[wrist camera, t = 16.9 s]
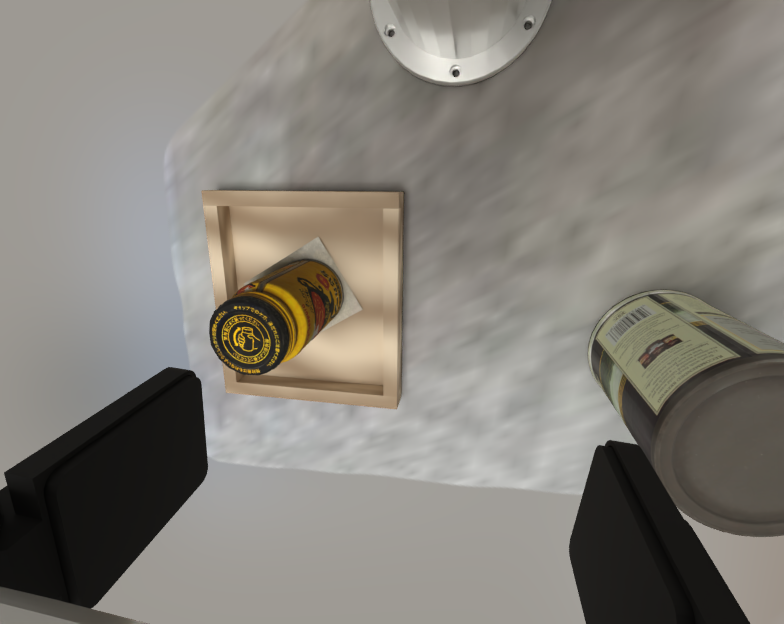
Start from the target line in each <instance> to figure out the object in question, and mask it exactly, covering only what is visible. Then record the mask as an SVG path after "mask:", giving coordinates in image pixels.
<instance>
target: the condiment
mask: <svg viewBox="0 0 784 624" xmlns="http://www.w3.org/2000/svg"><path fill="white" fill-rule="evenodd" d="M244 285H245V286H244V287H242V288H240V289H239V290H238V291H237V292H236V293H235V294H234V295H233V296H232V298H231V299H229V300H227V301H225V302H224V303H223V304H221V305H220V306H219V307H218V309H217V310H215V311H214V314H213V315H212V317H211V320H210V330H209V334H210V341H211V346H212V348H213V349H214V351H215V353H216V354H217V356H218V357H219V359H220V360H221V361H222V362H223V363H224V364H225V365H226V366H227V367H228V368H230V369H232V370H234V371H236V372H238V373H240V374H243V375H262V374H265V373H268V372H270V371H271V370H274V369H275V368H277V366H278V365H280V363H283V362H286V361H289V360H291V359H292V358H294V357H295V356H296V355H298V354H299V353H300V352H301V351H302V349H303V348H305V347H306V345H307V344H309V342H310V341H311V340H313V339H314V338H315V337H316V336H317V335H318V334H319V333H321V332H322V331H324V330H326V329H328V328H330V327H331V326H333V325H335V324H337V323H339V322H341V321H342V320H344V319H346V318H348V317H350V316H352V315H353V314H355V313H357V312H359V311H361V310H363V309H362V307H361V306H360V304H359V302H358V301H357V299H356V297H355V296H354V294H353V292H352V290H351V289H350V287H349V285H348V284H347V282H346V280H345V279H344V277H343V275H342V274H341V272H340V271H339V269H338V267H337V266H336V264H335V263H334V261H333V259H332V258H331V256H330V255H329V253H328V252H327V250H326V249H325V247H324V245H323V244H322V242H321V240H320V239H319V237H317V238H315V239H314V240H312V241H311V242H309V243H307V244H306V245H304V246H303V247H301V248H299V249H298V250H296V251H295V252H293V253H292V254H290V255H288V256H287V257H285V258H284V259H282V260H280V261H279V262H277V263H276V264H274V265H272V266H271V267H269V268H268V269H266V270H264V271H263V272H261V273H260V274H258V275H256V276H255V277H253V278H252V279H250V280H248V281H247V282H245V283H244Z"/></svg>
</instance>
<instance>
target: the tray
mask: <svg viewBox="0 0 784 624" xmlns="http://www.w3.org/2000/svg"><path fill="white" fill-rule="evenodd" d="M202 199H203V207H204V215H205V223H206V232H207V240H208V248H209V256H210V264H211V273H212V281H213V289H214V297H215V306H216V310H217V309H218V307H219V306H220V305H221V304H223V303H224V302H225V301H227V300H229V299H231V298H232V296H233V295H234V294H235V293H236V292H237V291H238V290H239V289H240V288H242V287H244V286H245V285H244V283H245V282H247V281H248V280H250V279H252V278H253V277H255V276H256V275H258V274H260V273H261V272H263V271H264V270H266V269H268V268H269V267H271V266H272V265H274V264H276V263H277V262H279V261H280V260H282V259H284V258H285V257H287V256H288V255H290V254H292V253H293V252H295V251H296V250H298V249H299V248H301V247H303V246H304V245H306V244H307V243H309V242H311V241H312V240H314V239H315V238H317V237H319V239H320V240H321V242H322V244H323V245H324V247H325V249H326V250H327V252H328V253H329V255H330V256H331V258H332V259H333V261H334V263H335V264H336V266H337V267H338V269H339V271H340V272H341V274H342V275H343V277H344V279H345V280H346V282H347V284H348V285H349V287H350V289H351V290H352V292H353V294H354V296H355V297H356V299H357V301H358V302H359V304H360V306H361V307H362V309H363V310H361V311H359V312H357V313H355V314H353V315H352V316H350V317H348V318H346V319H344V320H342V321H341V322H339V323H337V324H335V325H333V326H331V327H330V328H328V329H326V330H324V331H322V332H321V333H319V334H318V335H317V336H316V337H315V338H314V339H313V340H311V341H310V342H309V344H307V345H306V347H305V348H303V349H302V351H301V352H300V353H299V354H298V355H296V356H295V357H294V358H292V359H291V360H289V361H286V362H283V363H280V365H278V366H277V368H275V369H274V370H271V371H270V372H268V373H265V374H262V375H243V374H240V373H238V372H236V371H234V370H232V369H230V368H228V367H227V366H226V365H225V364H224V363H223V362H222V363H223V371H224V379H225V388H226V393H235V394H245V395H255V396H265V397H276V398H286V399H296V400H306V401H317V402H327V403H337V404H348V405H358V406H368V407H378V408H389V409H397V407H398V404H399V401H400V398H401V385H402V302H403V220H404V192H381V191H268V190H205V191H202Z"/></svg>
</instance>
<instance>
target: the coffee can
mask: <svg viewBox="0 0 784 624" xmlns="http://www.w3.org/2000/svg"><path fill="white" fill-rule="evenodd" d="M588 360H589V366H590V369H591V372H592V375H593V377H594V379H595V380H596V382H597V383H598V384H599V386H600V387H601V388H602V389H603V391H604V392H605V394H606V395H607V397H608V399H609V400H610V401H611V403H612V405H613V406H614V408H615V409H616V411H617V412H618V414H619V415H620V417H621V418H622V420H623V422H624V423H625V425H626V426H627V428H628V430H629V431H630V433H631V434H632V436H633V438H634V439H635V441H636V442H637V444H638V445H639V446H640V447H641V449H642V450H643V452H644V454H645V455H646V457H647V459H648V460H649V462H650V464H651V465H652V467H653V469H654V470H655V472H656V474H657V475H658V477H659V479H660V480H661V482H662V484H663V485H664V487H665V489H666V490H667V492H668V494H669V495H670V497H671V499H672V500H673V502H674V504H675V505H676V506H677V507H678V508H679V509H680V510H681V511H683V513H685V514H686V515H688V516H689V517H691V518H692V519H694V520H696V521H697V522H699V523H702V524H703V525H706V526H708V527H711V528H714V529H716V530H719V531H722V532H727V533H731V534H735V535H741V536H752V537H773V536H781V535H784V343H782V342H780V341H778V340H776V339H774V338H772V337H770V336H768V335H766V334H764V333H762V332H760V331H758V330H756V329H754V328H752V327H750V326H749V325H747V324H745V323H743V322H741V321H739V320H737V319H735V318H733V317H731V316H729V315H727V314H725V313H723V312H721V311H719V310H717V309H715V308H713V307H712V306H710V305H708V304H707V303H705V302H704V301H702V300H700V299H698V298H697V297H694V296H692V295H689V294H687V293H684V292H678V291H672V290H655V291H648V292H644V293H640V294H637V295H634V296H632V297H629V298H627V299H625V300H624V301H622V302H620V303H619V304H617V305H616V306H614V307H613V308H612V309H611V310H609V311H608V312H607V313H606V314H605V315H604V316H603V317H602V319H601V320H600V321H599V323H598V324H597V326H596V328H595V329H594V331H593V333H592V336H591V339H590V343H589V349H588Z"/></svg>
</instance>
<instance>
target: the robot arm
mask: <svg viewBox="0 0 784 624" xmlns="http://www.w3.org/2000/svg"><path fill="white" fill-rule="evenodd" d="M551 1H552V0H370V7H371V11H372V15H373V19H374V23H375V26H376V28H377V30H378V33H379V35H380V37H381V39H382V41H383V43H384V45H385V46H386V48H387V49H388V51H389V52H390V54H391V55H392V56H393V57H394V58H395V59H396V61H397V62H398V63H399V64H400V65H401V66H402V67H403V68H405V69H406V70H407V71H409V72H410V73H411V74H412V75H414V76H416V77H418V78H420V79H422V80H424V81H426V82H429V83H434V84H438V85H442V86H463V85H468V84H473V83H477V82H480V81H482V80H485V79H487V78H490V77H492V76H494V75H495V74H497V73H499V72H500V71H502V70H503V69H505V68H506V67H508V66H509V65H510V64H511V63H512V62H513V61H514V60H516V59H517V58H518V57H519V56H520V55H521V54H522V53H523V52H524V50H525V49H526V48H527V47H528V45H529V44H530V43H531V41H532V40H533V39H534V38H535V36H536V34H537V32H538V30H539V28H540V27H541V25H542V23H543V21H544V19H545V17H546V14H547V12H548V9H549V7H550V4H551ZM526 23H530V25H531V28H530V29H529V30H526V29H525V28H524V25H525V24H526ZM390 31H394V32H395V35H394V36H393V37H389V33H390ZM456 70H457V71H459V72H460V74H459V76H458V77H454V76H453V75H452V74H453V72H454V71H456ZM207 470H208V463H207V449H206V436H205V424H204V411H203V399H202V386H201V381H200V379H199V378H197V377H196V375H195V373H194V372H193V371H191V370H185V369H179V368H172V367H168V368H166V369H164V370H162V371H161V372H159V373H158V374H157V375H155V376H153V377H152V378H150V379H149V380H147V381H145V382H144V383H142V384H141V385H139V386H138V387H136V388H135V389H133V390H132V391H130V392H128V393H127V394H125V395H124V396H122V397H121V398H119V399H118V400H116V401H115V402H113V403H111V404H110V405H108V406H107V407H105V408H104V409H102V410H100V411H99V412H97V413H96V414H94V415H93V416H91V417H90V418H88V419H87V420H85V421H83V422H82V423H80V424H79V425H78V426H76V427H74V428H73V429H71V430H70V431H68V432H66V433H65V434H63V435H62V436H60V437H59V438H57V439H56V440H54V441H52V442H51V443H49V444H48V445H46V446H45V447H43V448H42V449H40V450H39V451H37V452H36V453H34V454H32V455H31V456H29V457H28V458H26V459H25V460H23V461H21V462H20V463H18V464H17V465H15V466H14V467H12V468H11V469H9V470H7V471H6V472H4V474H5V478H6V482H7V486H6V487H4V488H3V489H2V490H0V624H147V623H143V622H140V621H136V620H132V619H128V618H124V617H120V616H117V615H112V614H109V613H105V612H101V611H97V610H93V609H91V608H92V607H94V606H95V605H96V604H97V603H98V602H99V601H100V600H101V599H102V597H103V596H104V595H105V594H106V593H107V592H108V590H109V589H110V588H111V587H112V586H113V585H114V584H115V582H116V581H117V580H118V579H119V578H120V577H121V576H122V574H123V573H124V572H125V571H126V570H127V569H128V567H129V566H130V565H131V564H132V563H133V562H134V561H135V559H136V558H137V557H138V556H139V555H140V554H141V553H142V551H143V550H144V549H145V548H146V547H147V546H148V544H149V543H150V542H151V541H152V540H153V539H154V537H155V536H156V535H157V534H158V533H159V532H160V531H161V529H162V528H163V527H164V526H165V525H166V524H167V523H168V521H169V520H170V519H171V518H172V517H173V516H174V515H175V513H176V512H177V511H178V510H179V509H180V507H181V506H182V505H183V504H184V503H185V502H186V501H187V499H188V498H189V497H190V496H191V495H192V494H193V492H194V491H195V490H196V489H197V488H198V487H199V486H200V485H201V483H202V482H203V481H204V479H205V477H206V474H207ZM569 554H570V560H571V564H572V568H573V572H574V576H575V581H576V585H577V589H578V592H579V597H580V601H581V605H582V609H583V613H584V617H585V621H586V624H750V622H749V621H748V619H747V617H746V616H745V614H744V612H743V611H742V609H741V608H740V606H739V604H738V603H737V601H736V599H735V598H734V596H733V594H732V593H731V591H730V590H729V588H728V586H727V584H726V583H725V581H724V580H723V578H722V576H721V575H720V573H719V571H718V570H717V568H716V566H715V565H714V563H713V561H712V560H711V558H710V556H709V555H708V553H707V552H706V550H705V548H704V547H703V545H702V543H701V542H700V540H699V538H698V537H697V535H696V533H695V532H694V530H693V528H692V527H691V526H690V525H689V523H688V522H687V521H686V520H684V519H683V517H682V515H681V514H680V512H679V511H678V509H677V507H676V505H675V504H674V502H673V500H672V499H671V497H670V495H669V494H668V492H667V490H666V489H665V487H664V485H663V484H662V482H661V480H660V479H659V477H658V475H657V474H656V472H655V470H654V469H653V467H652V465H651V464H650V462H649V460H648V459H647V457H646V455H645V454H644V452H643V450H642V449H641V447H640V446H639V445H636V444H630V443H624V442H618V441H612V440H609V441H607V443H606V444H605V446H601V445H599V446H597V448H596V450H595V453H594V457H593V460H592V464H591V467H590V471H589V474H588V478H587V482H586V485H585V489H584V492H583V496H582V499H581V503H580V506H579V510H578V514H577V517H576V521H575V524H574V528H573V531H572V535H571V538H570V545H569Z"/></svg>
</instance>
